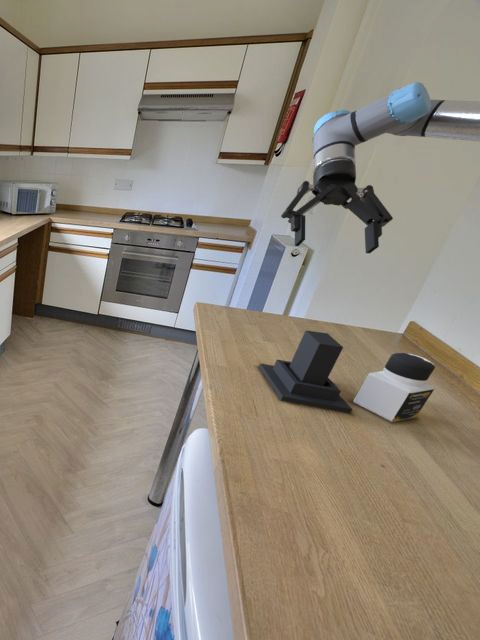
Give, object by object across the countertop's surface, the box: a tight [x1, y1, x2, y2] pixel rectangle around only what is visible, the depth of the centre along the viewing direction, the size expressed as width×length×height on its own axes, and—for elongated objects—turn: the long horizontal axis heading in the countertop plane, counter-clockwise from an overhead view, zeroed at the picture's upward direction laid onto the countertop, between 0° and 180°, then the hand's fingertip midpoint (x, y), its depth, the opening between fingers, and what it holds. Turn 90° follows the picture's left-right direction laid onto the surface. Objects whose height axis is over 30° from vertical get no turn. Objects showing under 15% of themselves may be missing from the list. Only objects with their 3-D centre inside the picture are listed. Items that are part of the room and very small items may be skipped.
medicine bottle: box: [353, 352, 436, 423], centre depth 80 cm, size 7×7×12 cm
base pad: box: [258, 359, 353, 414], centre depth 88 cm, size 12×15×4 cm
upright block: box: [288, 330, 344, 386], centre depth 86 cm, size 4×7×11 cm, turn 162°
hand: (335, 246), depth 91 cm, fingers open, 13 cm apart
